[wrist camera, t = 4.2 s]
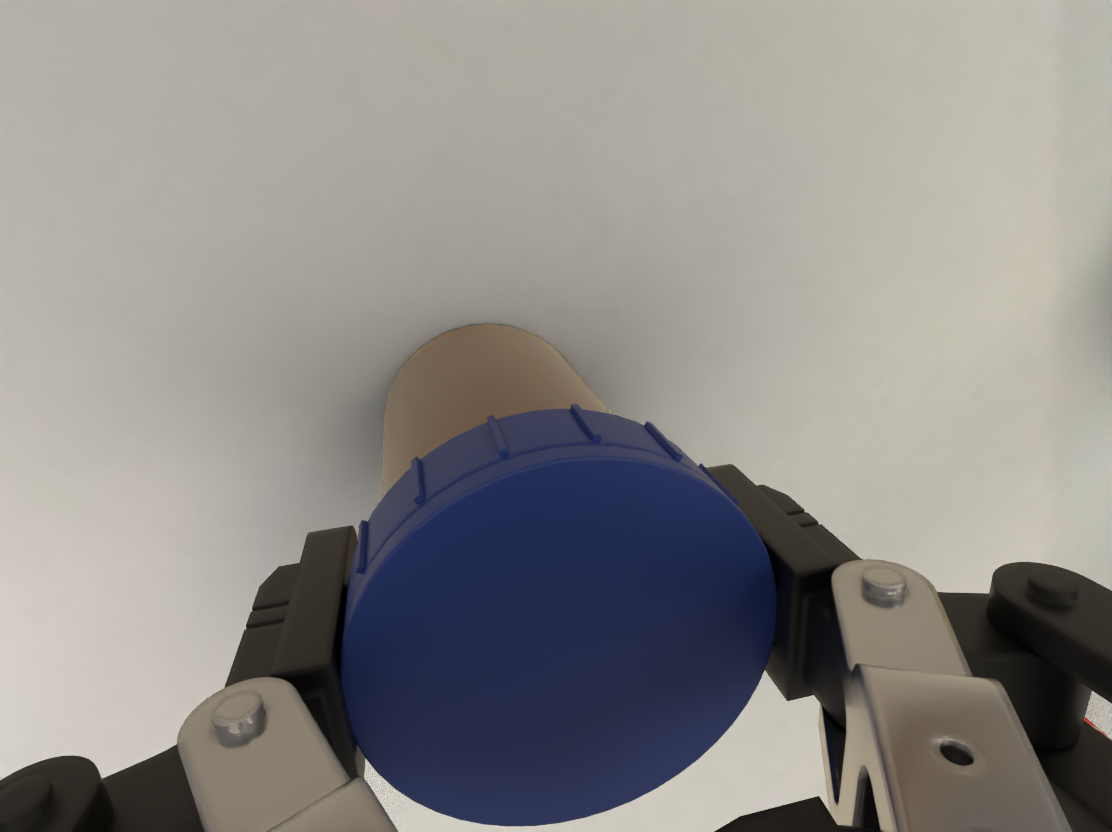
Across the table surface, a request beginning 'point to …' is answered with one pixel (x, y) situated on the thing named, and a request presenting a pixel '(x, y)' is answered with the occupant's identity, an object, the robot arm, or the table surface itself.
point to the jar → (473, 389)
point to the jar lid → (551, 619)
